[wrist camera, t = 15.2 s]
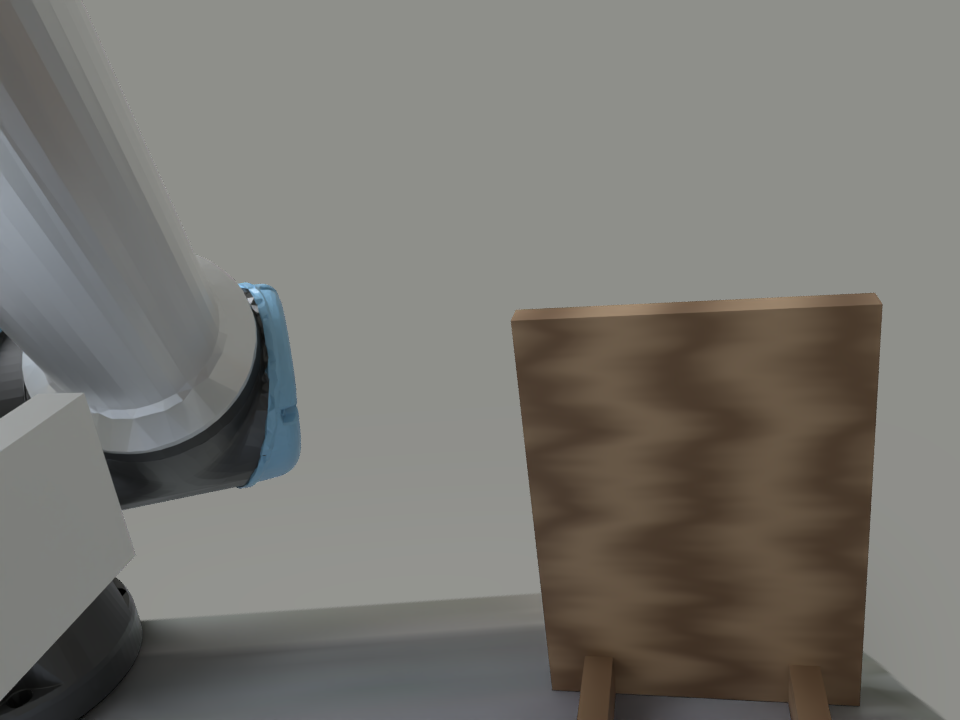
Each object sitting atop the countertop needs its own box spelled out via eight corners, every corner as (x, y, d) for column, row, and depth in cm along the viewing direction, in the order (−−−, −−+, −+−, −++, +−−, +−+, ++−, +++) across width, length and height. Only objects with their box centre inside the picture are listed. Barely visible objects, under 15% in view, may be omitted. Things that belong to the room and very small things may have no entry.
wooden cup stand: (515, 914, 37) (446, 458, 29) (555, 670, 50) (516, 309, 42) (926, 959, 33) (981, 454, 25) (854, 685, 46) (874, 292, 38)
